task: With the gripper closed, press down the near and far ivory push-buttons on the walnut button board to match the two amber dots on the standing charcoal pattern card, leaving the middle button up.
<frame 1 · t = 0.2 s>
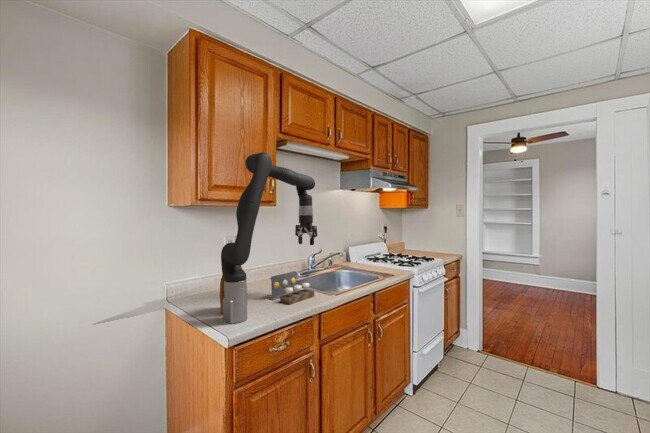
hand: (306, 244, 165), 28 cm above the counter, tool pointing down, fingers open, 8 cm apart
button far: (305, 285, 165), point 6 cm above the counter, slide at 0.0 cm
button board: (297, 299, 161), on the counter
pattern card: (284, 295, 168), on the counter
button near: (289, 290, 156), point 6 cm above the counter, slide at 0.0 cm
coffee package: (234, 311, 145), on the counter
button mid: (297, 287, 161), point 6 cm above the counter, slide at 0.0 cm
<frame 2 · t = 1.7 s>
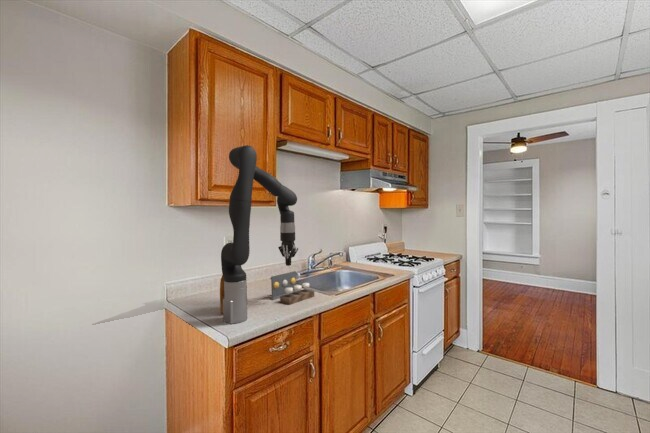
hand: (288, 265, 156), 19 cm above the counter, tool pointing down, fingers closed
nothing on the counter moved.
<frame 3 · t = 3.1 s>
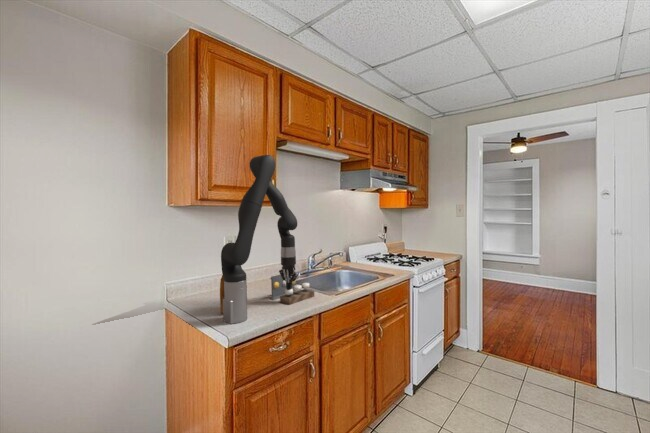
hand: (289, 289, 156), 6 cm above the counter, tool pointing down, fingers closed
button near: (289, 291, 156), point 5 cm above the counter, slide at 0.6 cm, touching gripper
everything else where it was.
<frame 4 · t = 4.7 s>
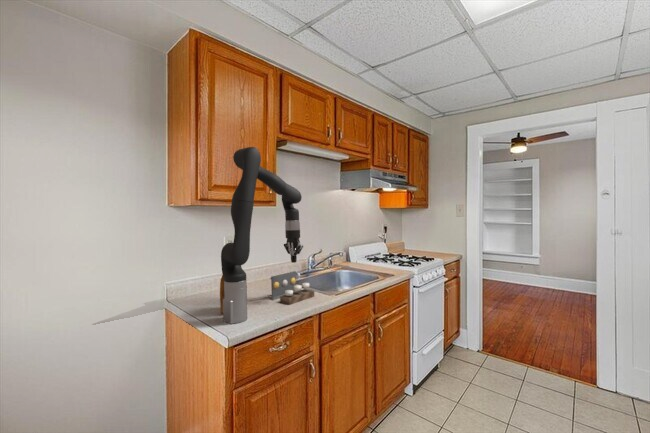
hand: (293, 262, 159), 20 cm above the counter, tool pointing down, fingers closed
button near: (289, 292, 156), point 5 cm above the counter, slide at 1.3 cm
everything else where it was.
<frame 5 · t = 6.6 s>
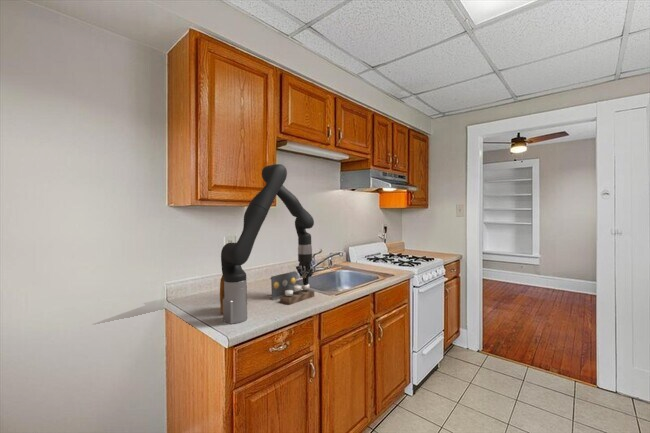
hand: (305, 284, 165), 6 cm above the counter, tool pointing down, fingers closed
button far: (305, 286, 165), point 5 cm above the counter, slide at 0.6 cm, touching gripper
everything else where it was.
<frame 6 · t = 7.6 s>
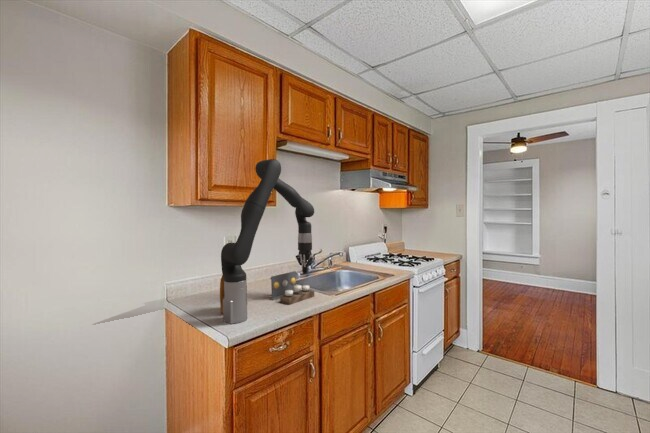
hand: (305, 273, 165), 12 cm above the counter, tool pointing down, fingers closed
button far: (305, 287, 165), point 5 cm above the counter, slide at 1.3 cm
everything else where it was.
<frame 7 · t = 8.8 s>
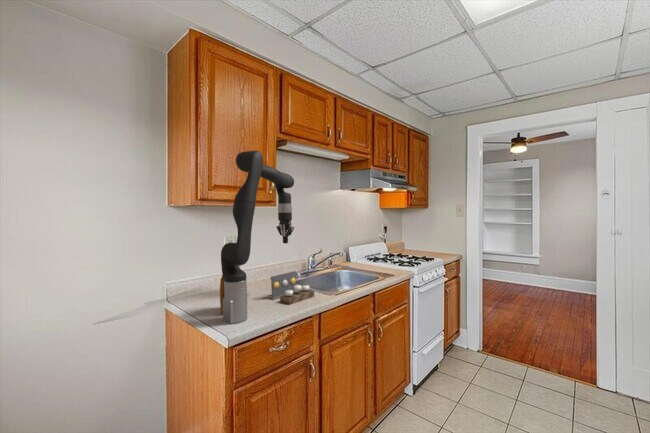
hand: (285, 243, 169), 28 cm above the counter, tool pointing down, fingers closed
nothing on the counter moved.
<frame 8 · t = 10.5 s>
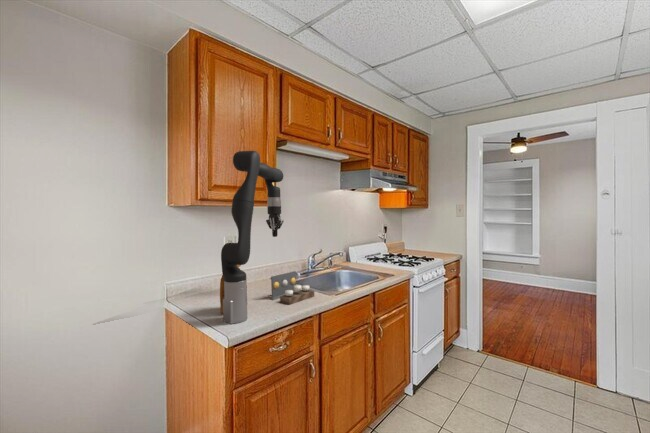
hand: (274, 236, 172), 32 cm above the counter, tool pointing down, fingers closed
nothing on the counter moved.
at the end: button near slide at 1.3 cm; button far slide at 1.3 cm; button mid slide at 0.0 cm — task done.
